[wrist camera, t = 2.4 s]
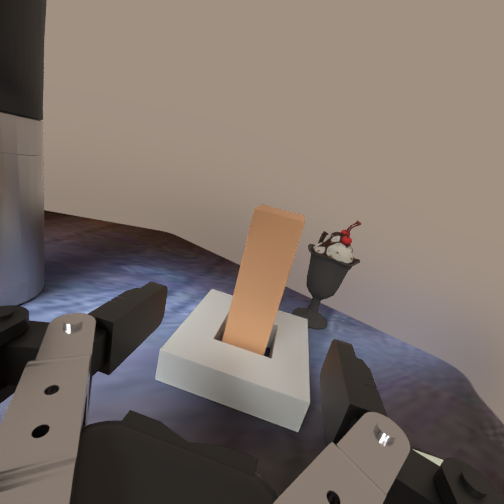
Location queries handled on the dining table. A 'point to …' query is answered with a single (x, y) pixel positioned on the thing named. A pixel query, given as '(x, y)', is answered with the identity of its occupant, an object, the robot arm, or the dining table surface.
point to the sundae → (327, 272)
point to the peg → (262, 277)
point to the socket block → (240, 364)
